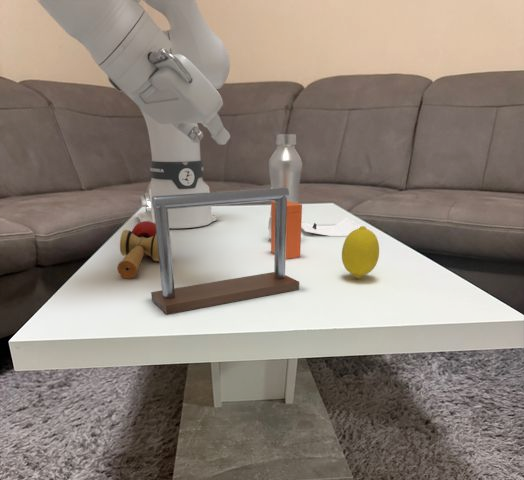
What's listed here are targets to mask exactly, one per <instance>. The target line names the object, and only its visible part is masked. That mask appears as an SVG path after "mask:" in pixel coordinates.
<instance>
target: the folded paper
mask: <svg viewBox="0 0 524 480" xmlns="http://www.w3.org/2000/svg"><path fill="white" fill-rule="evenodd" d="M361 226H362V225H360V224H359V223H357V222H356V221H353V220H352V219H351V218H349V217H348V216H346V217H344V218H343V219H342V220H341V221H339V222H337V223H336V224H335V225H319V224H316V222H314V223H307V222H302V221H301V229H302V230H303V231H304V232H306V233H311V234H317V235H323V236H327V237H328V236H329V237H347V236H348V235H349V234H350V233H351V232H352V231H354V230H356V229H359V228H360V227H361Z"/></svg>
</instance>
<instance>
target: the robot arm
mask: <svg viewBox="0 0 524 480" xmlns="http://www.w3.org/2000/svg"><path fill="white" fill-rule="evenodd" d="M36 1H37V2H38V4H39V5H40V6H41V8H43V9H44V11H45V12H47V14H48V15H49V16H50V17H51V18H52V19H53V20H54V21H55V22H56V23H57V24H58V25H59V27H60V28H62V30H63V31H64V32H65V33H66V34H67V35H69V36H70V37H72V38H73V39H74V40H76V41H78V42H79V43H80V44H81V45H82V46H83V47H84V48H85V49H86V50H87V52H88V53H89V55H90V56H91V58H92V59H93V61H94V63H95V64H96V65H97V66H98V67H99V68H100V69H101V71H103V72H104V73H105V74H106V75H107V81H108V83H109V84H110V85H111V86H112V87H113V88H114V89H115V90H116V91H118V92H120V93H121V92H123V93H124V94H125V95H126V96H127V97H128V98H129V99H130V100H131V101H132V102H134V103H135V104H136V106H137V107H138V109H139V110H140V112H141V114H142V116H143V118H144V122H145V125H146V128H147V133H148V138H149V145H150V154H151V161H150V167H149V171H150V172H149V173H150V175H149V176H150V177H151V180H150V182H149V185H148V187H147V188H146V192H145V193H143V195H140V196H139V203H140V206H141V207H145V211H144V212H139V213H137V216H138V217H137V218H138V220H139V223H141V222H145V221H149V222H153V223H155V214H154V209H153V206H152V197H153V196H165V195H179V194H194V193H209V192H211V191H210V187H209V185H208V184H207V183H206V182H205V181H204V178H203V177H204V171H205V170H204V169H205V168H204V163H203V161H202V160H201V159H202V158H201V140H203V138H204V133H203V131H201V129H200V128H199V125H198V124H201V125H202V126H203V127H204V128H206V129H207V130H208V131H209V133H210V134H211V135H210V137H211V139H213V140H214V142H216V144H218V145H224V146H225V145H226V144H227V143H228V141H229V140H230V139H231V134H230V132H229V131H228V130H227V129H226V128H225V127H224V124H223V122H222V119H221V117H220V114H218V113H219V111H220V110H221V109H222V107H223V105H224V101H223V98H222V95H221V94H220V93H219V91H218V89H219V90H220V89H221V88H222V87H223V86H224V84H225V83H226V81H227V79H228V77H229V74H230V67H231V61H230V55H229V52H228V49H227V47H226V45H225V43H224V41H223V40H222V39H221V38H220V37H219V36H218V35H217V34H216V33H214V31H213V29H211V28H210V26H209V25H208V24H207V22H206V20H205V19H204V17H203V16H202V15H203V14H201V10H200V9H199V6H198V3H197V0H36ZM141 1H143V2H144V3H145V4H147V5H148V6H149V7H151V8H152V9H154V10H156V11H157V12H159V13H161V14H162V15H163V16H164V18H165V19H166V20H167V22H168V24H169V29H167V30H162V29H161V28H160V27H159V25H158V24H157V23H156V22H155V21H154V19H153V18H152V17H151V16H150V14H149V13H148V12H147V11H146V9H145V8H144V7H143V6H142V5H141V4H140V2H141ZM168 219H169V229H190V228H191V229H192V228H199V227H204V226H208V225H210V224H211V223H212V222H217V221H218V215H214V214H213V210H212V206H203V207H190V208H178V209H168Z"/></svg>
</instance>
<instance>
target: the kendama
mask: <svg viewBox="0 0 524 480" xmlns="http://www.w3.org/2000/svg"><path fill="white" fill-rule="evenodd" d="M119 241H120V242H119V250H120V254H121V256H124V258H123V259H121V261H120V262H119V263H118V265H117V272H118V274H119V275H120V276H121V277H122V278H123V279H129V280H130V279H131V280H132V279H133V278H135V277H136V276H137V274H138V270H139V268H140V265H141V263H142V260H143V257H144V256H149V257H150V258H151V259H152V260H153V261H154V262H159V254H158V244H157V234H156V224H155V223H153V222H149V221H145V222H138V223H137V224H135V226H133V228H132V230H130V229H129V230H128V229H123V231H122V233H121V235H120V240H119Z"/></svg>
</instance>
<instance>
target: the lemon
mask: <svg viewBox="0 0 524 480" xmlns="http://www.w3.org/2000/svg"><path fill="white" fill-rule="evenodd" d="M360 226H361V227H359V228H358V229H356V230H354V231H352V232H351V233H350V234H349V235H348V236H345V239H344V242H343V245H342V248H341V261H342V264H343V266H344V268H345V270H346V271H347V272H348V273H350V274H351V275H353V276H354V278H355V279H361V278H362V277H363V276H364V275H367V274H369V273H371V272H372V271H373V270H375V267H376V266H377V264H378V261H379V257H380V243H379V240H378V237H377V235H376V234H375V233H374V232H373V231H372V230H370V229H368V228H367V227H366V226H364V225H360Z"/></svg>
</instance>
